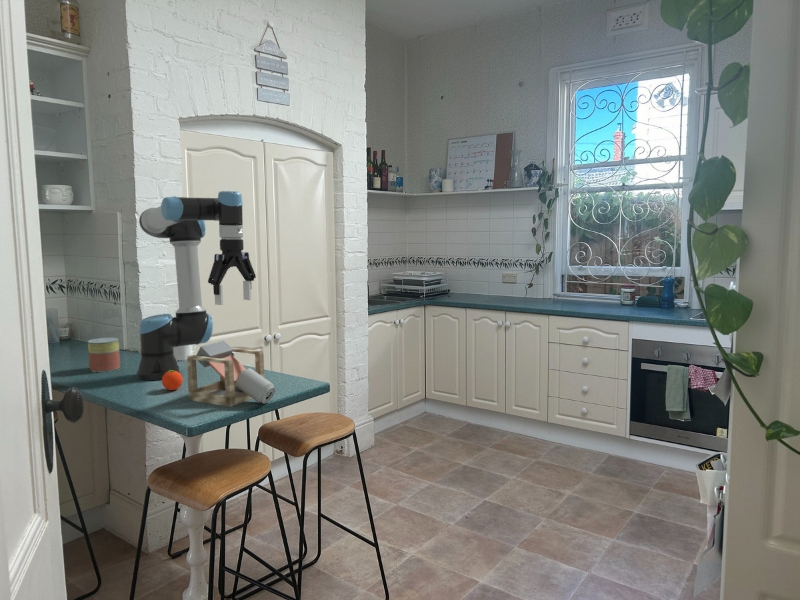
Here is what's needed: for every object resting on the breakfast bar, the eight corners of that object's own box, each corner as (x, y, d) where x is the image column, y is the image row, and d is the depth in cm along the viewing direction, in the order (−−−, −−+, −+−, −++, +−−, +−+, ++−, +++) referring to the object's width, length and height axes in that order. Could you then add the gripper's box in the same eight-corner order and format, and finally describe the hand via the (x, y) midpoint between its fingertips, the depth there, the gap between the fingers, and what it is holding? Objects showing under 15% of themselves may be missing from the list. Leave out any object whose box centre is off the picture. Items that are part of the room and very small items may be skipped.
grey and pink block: (192, 358, 197) (198, 347, 195) (220, 350, 208) (225, 340, 207) (224, 389, 192) (230, 378, 191) (250, 380, 204) (256, 369, 202)
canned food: (126, 367, 242) (124, 338, 241) (101, 373, 232) (99, 343, 231) (108, 364, 248) (106, 336, 246) (83, 370, 238) (81, 341, 236)
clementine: (159, 388, 211) (158, 369, 210) (179, 385, 215) (178, 366, 214) (165, 393, 205) (164, 373, 204) (185, 390, 209) (184, 370, 208)
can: (238, 389, 198) (265, 408, 194) (231, 381, 191) (258, 401, 187) (253, 371, 200) (279, 390, 196) (246, 363, 194) (274, 382, 190)
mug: (177, 362, 252) (176, 340, 251) (166, 359, 258) (165, 338, 257) (202, 357, 261) (201, 336, 260) (192, 354, 267) (191, 334, 266)
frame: (189, 399, 197) (186, 355, 195) (224, 387, 212) (223, 346, 210) (230, 407, 189) (228, 361, 187) (264, 393, 204) (263, 351, 203)
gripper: (212, 239, 183) (215, 307, 186) (265, 237, 205) (266, 298, 208) (194, 239, 186) (197, 306, 189) (248, 237, 208) (249, 297, 211)
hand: (233, 302), depth 198 cm, fingers open, 13 cm apart
